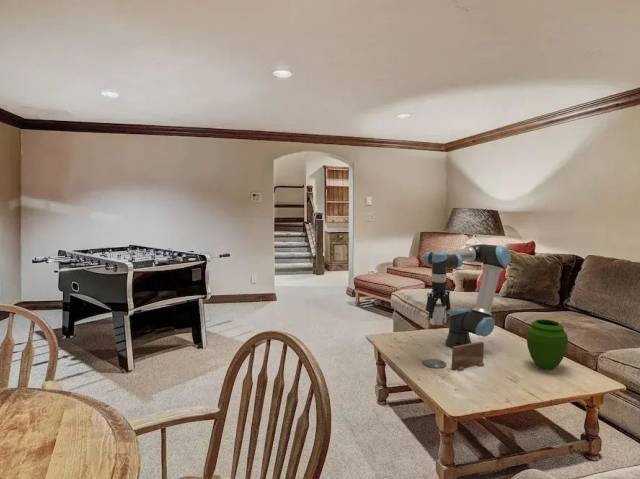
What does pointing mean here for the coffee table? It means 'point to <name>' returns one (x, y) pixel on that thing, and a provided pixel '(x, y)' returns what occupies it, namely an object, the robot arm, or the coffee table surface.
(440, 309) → the cup
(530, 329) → the vase
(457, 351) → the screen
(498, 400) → the coffee table surface
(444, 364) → the coaster
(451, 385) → the coffee table surface
